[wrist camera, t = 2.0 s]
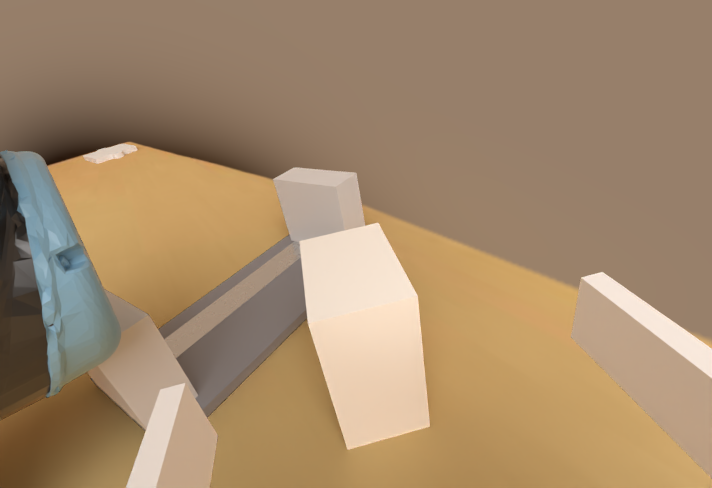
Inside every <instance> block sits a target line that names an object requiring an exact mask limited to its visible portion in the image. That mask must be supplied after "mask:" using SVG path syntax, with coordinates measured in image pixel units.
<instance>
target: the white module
mask: <svg viewBox="0 0 712 488" xmlns="http://www.w3.org/2000/svg"><path fill="white" fill-rule="evenodd" d="M299 243H300V252H301V262H302V272H303V281H304V291H305V300H306V310H307V320H308V326H309V329H310V332H311V335H312V338H313V342H314V345H315V348H316V351H317V354H318V358H319V361H320V364H321V367H322V370H323V373H324V377H325V380H326V383H327V386H328V389H329V393H330V396H331V399H332V402H333V405H334V409H335V412H336V415H337V418H338V421H339V425H340V428H341V431H342V434H343V437H344V441H345V444H346V447H347V450H349V449H352V448H356V447H359V446H363V445H367V444H370V443H374V442H377V441H381V440H384V439H388V438H391V437H395V436H398V435H402V434H406V433H409V432H413V431H416V430H420V429H423V428H427V427H430V421H429V410H428V400H427V389H426V378H425V368H424V357H423V347H422V336H421V326H420V315H419V305H418V296H417V294H416V292H415V290H414V288H413V286H412V284H411V283H410V281H409V279H408V277H407V275H406V273H405V272H404V270H403V268H402V266H401V264H400V262H399V260H398V259H397V257H396V255H395V253H394V251H393V249H392V247H391V246H390V244H389V242H388V240H387V238H386V236H385V234H384V233H383V231H382V229H381V227H380V225H379V223H374V224H370V225H366V226H362V227H357V228H353V229H349V230H345V231H340V232H336V233H332V234H328V235H323V236H319V237H315V238H311V239H306V240H302V241H299Z"/></svg>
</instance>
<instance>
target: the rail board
mask: <svg viewBox="0 0 712 488" xmlns="http://www.w3.org/2000/svg"><path fill="white" fill-rule="evenodd" d="M306 319H307V310H306V300H305V291H304V281H303V272H302V262H301V252H300V243H299V242H297V241H291V238H290V235H288V236H286V237H285V238H284V239H282V240H281V241H279V242H278V243H277V244H275V245H274V246H273V247H271V248H270V249H268V250H267V251H266V252H264V253H263V254H262V255H260V256H259V257H257V258H256V259H255V260H253V261H252V262H250V263H249V264H248V265H246V266H245V267H244V268H242V269H241V270H239V271H238V272H237V273H235V274H234V275H233V276H231V277H230V278H228V279H227V280H226V281H224V282H223V283H221V284H220V285H219V286H217V287H216V288H215V289H213V290H212V291H210V292H209V293H208V294H206V295H205V296H204V297H202V298H201V299H199V300H198V301H197V302H195V303H194V304H192V305H191V306H190V307H188V308H187V309H186V310H184V311H183V312H181V313H180V314H179V315H177V316H176V317H174V318H173V319H172V320H170V321H169V322H168V323H166V324H165V325H163V326H162V327H161V328H159V329H158V330H159V332H160V334H161V335H162V337H163V338H164V340H165V342H166V343H167V345H168V347H169V348H170V350H171V352H172V353H173V355H174V356H175V358H176V360H177V361H178V363H179V365H180V366H181V368H182V370H183V371H184V373H185V374H186V376H187V378H188V379H189V381H190V383H191V384H192V386H193V388H194V389H195V391H196V392H197V394H198V396H197V397H196V398H195V399H196V401H197V402H198V404H199V405H200V407H201V409H202V410H203V412H204V414H205V415H206V417H208V416H209V415H210V414H211V413H212V412H213V411H214V410H215V409H216V408H217V407H218V406H219V405H220V404H221V403H222V402H223V401H224V400H225V399H226V398H227V397H228V396H229V395H230V394H231V393H232V392H233V391H234V390H235V389H236V388H237V387H238V386H239V385H240V384H241V383H242V382H243V381H244V380H245V379H246V378H247V377H248V376H249V375H250V374H251V373H252V372H253V371H254V370H255V369H256V368H257V367H258V366H259V365H260V364H261V363H262V362H263V361H264V360H265V359H266V358H267V357H268V356H269V355H270V354H271V353H272V352H273V351H274V350H275V349H276V348H277V347H278V346H279V345H280V344H281V343H282V342H283V341H284V340H285V339H286V338H287V337H288V336H289V335H290V334H291V333H292V332H293V331H294V330H295V329H296V328H297V327H298V326H299V325H300V324H302V323H303V322H304V321H305V320H306ZM90 379H91V380H92V381H93V382H94V383H95V381H94V380H93V379H92V378H90ZM95 385H96V386H97V387H98V388H99V389H100V390H102V389H101V388H100V387H99V386H98V385H97V384H96V383H95ZM102 391H103V390H102ZM103 392H104V393H105V394H106V395H107V396H108V397H109V398H110V399H111V400H112V401H113V402H114V403H115V404H116V405H118V406H119V404H117V403H116V402H115V401H114V400H113V399H112V398H111V397H110V396H109V395H108V394H107V393H106V392H105V391H103ZM119 407H120V408H121V409H122V410H123V411H124V412H125V413H126V414H127V415H128V416H129V417H130V418H131V419H132V420H134V421H135V422H136V423H137V424H138V425H139V426H140V427H141V428H142V429H143V430H144V431H145V432H146V430H145V429H144V428H143V427H142V426H141V425H140V424H139V423H138V422H137V421H136V420H135V419H133V418H132V417H131V416H130V415H129V414H128V413H127V412H126V411H125V410H124V409H123V408H122V407H121V406H119Z"/></svg>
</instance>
